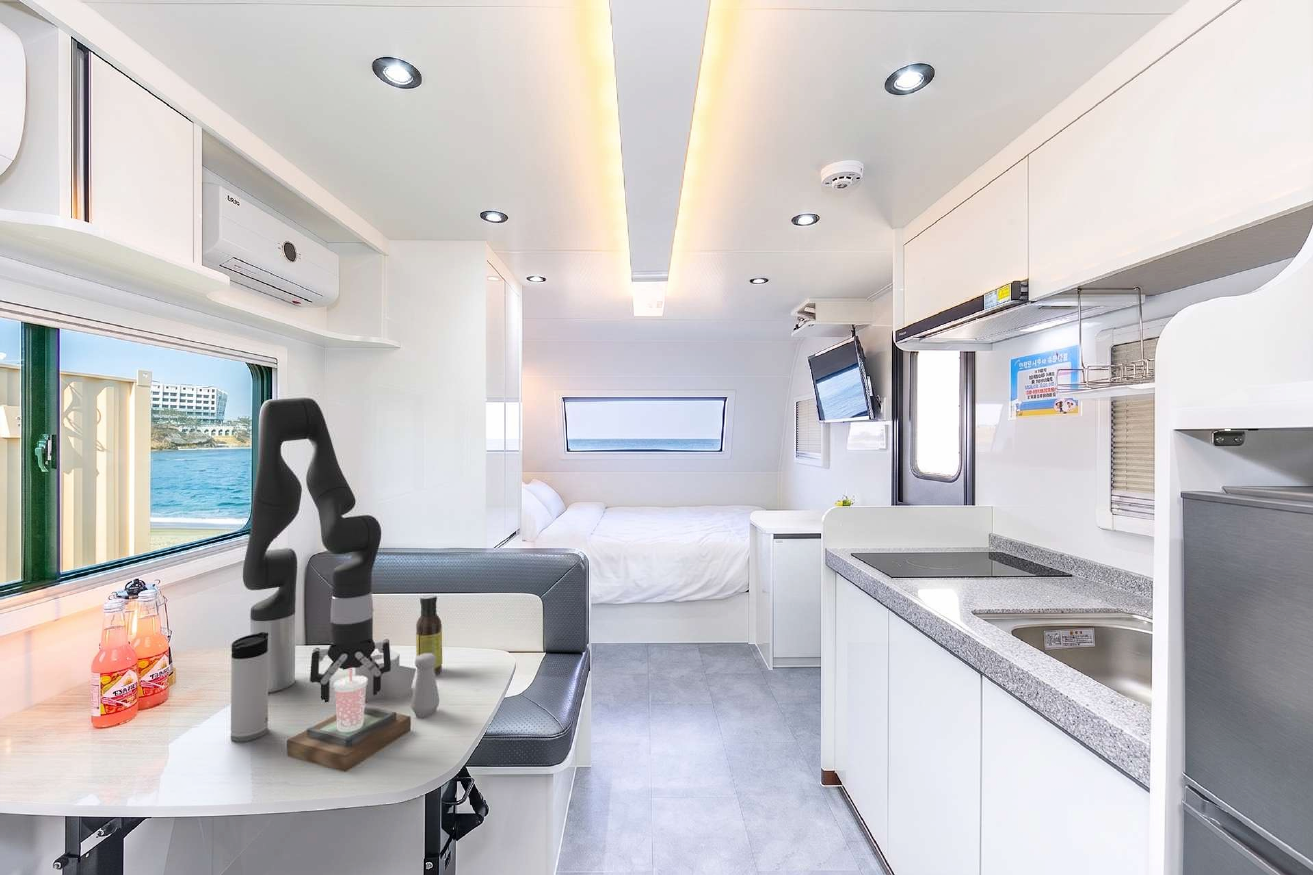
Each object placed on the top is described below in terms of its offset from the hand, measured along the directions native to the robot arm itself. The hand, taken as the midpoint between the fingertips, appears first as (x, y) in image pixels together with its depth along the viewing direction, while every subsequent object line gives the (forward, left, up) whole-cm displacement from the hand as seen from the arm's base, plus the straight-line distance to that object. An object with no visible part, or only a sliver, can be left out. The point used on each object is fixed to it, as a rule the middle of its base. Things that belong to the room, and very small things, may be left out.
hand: (351, 697), depth 117 cm
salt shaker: (+5, +15, -9) cm, 18 cm away
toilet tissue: (-12, +20, -9) cm, 25 cm away
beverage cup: (0, 0, -6) cm, 6 cm away
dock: (0, 0, -9) cm, 9 cm away
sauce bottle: (-10, +33, -9) cm, 36 cm away
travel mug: (-22, -5, -9) cm, 24 cm away
